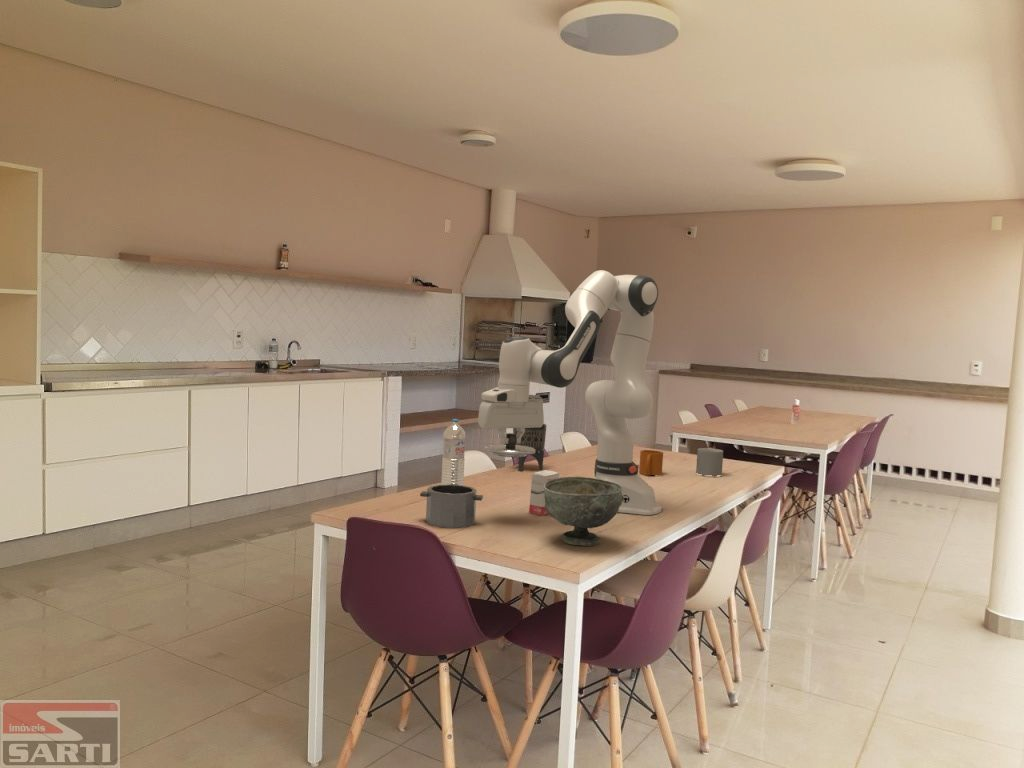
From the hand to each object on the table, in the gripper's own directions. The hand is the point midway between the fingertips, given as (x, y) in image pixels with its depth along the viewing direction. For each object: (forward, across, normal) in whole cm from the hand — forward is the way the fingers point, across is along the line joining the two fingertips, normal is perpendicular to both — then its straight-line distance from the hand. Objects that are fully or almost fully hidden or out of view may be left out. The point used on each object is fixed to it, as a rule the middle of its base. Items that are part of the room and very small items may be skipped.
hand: (510, 444), depth 220 cm
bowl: (+22, -4, +27) cm, 35 cm away
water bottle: (+22, +1, -28) cm, 36 cm away
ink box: (+22, -16, -3) cm, 27 cm away
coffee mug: (+21, -120, -31) cm, 125 cm away
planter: (+21, -54, -65) cm, 87 cm away
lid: (+3, 0, 0) cm, 3 cm away
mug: (+21, -94, -39) cm, 104 cm away
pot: (+22, +16, -4) cm, 27 cm away
